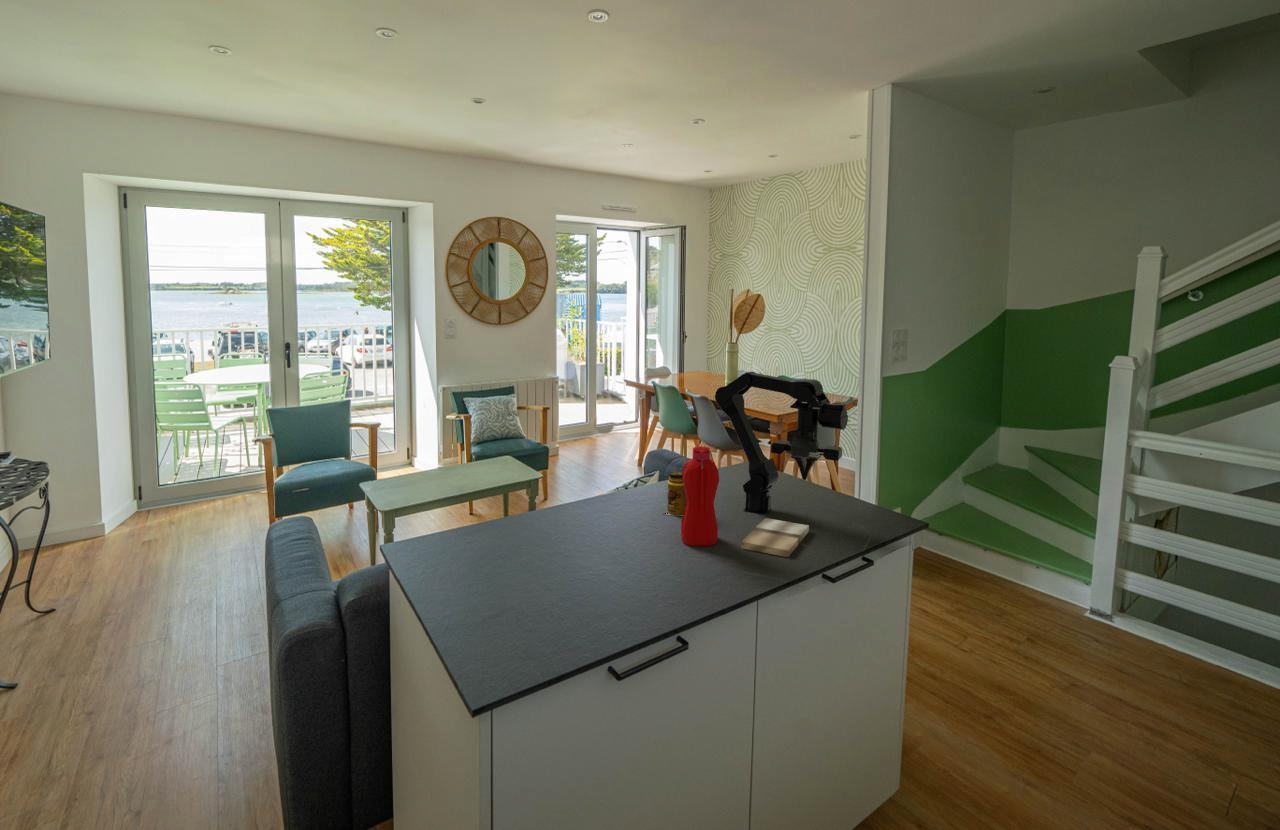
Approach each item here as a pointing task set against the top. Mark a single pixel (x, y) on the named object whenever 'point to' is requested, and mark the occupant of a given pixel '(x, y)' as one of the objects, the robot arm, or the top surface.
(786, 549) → the floor board
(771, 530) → the plank
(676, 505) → the condiment
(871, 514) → the top surface
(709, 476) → the water bottle
